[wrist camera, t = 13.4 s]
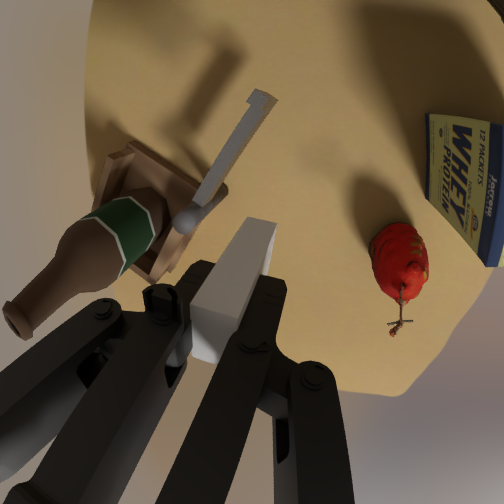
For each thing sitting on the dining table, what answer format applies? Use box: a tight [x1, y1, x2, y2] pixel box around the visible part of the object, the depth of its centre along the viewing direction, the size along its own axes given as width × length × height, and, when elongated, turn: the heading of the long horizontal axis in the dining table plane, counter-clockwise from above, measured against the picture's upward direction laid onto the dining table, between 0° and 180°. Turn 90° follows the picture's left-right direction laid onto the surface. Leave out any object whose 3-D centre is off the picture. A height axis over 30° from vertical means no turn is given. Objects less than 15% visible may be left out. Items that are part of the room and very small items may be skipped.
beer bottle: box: [2, 187, 171, 341], centre depth 25 cm, size 8×8×24 cm
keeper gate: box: [192, 89, 278, 207], centre depth 21 cm, size 12×1×4 cm, turn 147°
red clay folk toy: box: [369, 223, 429, 337], centre depth 25 cm, size 8×7×15 cm
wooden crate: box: [91, 141, 228, 285], centre depth 31 cm, size 16×15×10 cm
